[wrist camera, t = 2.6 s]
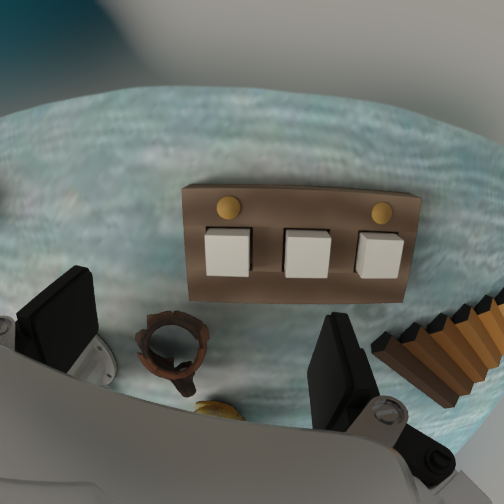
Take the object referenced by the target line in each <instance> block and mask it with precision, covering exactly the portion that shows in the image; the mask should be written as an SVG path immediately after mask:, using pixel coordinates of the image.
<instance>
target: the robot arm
mask: <svg viewBox="0 0 504 504" xmlns="http://www.w3.org/2000/svg"><path fill="white" fill-rule="evenodd" d="M16 315H17V319H18V320H17V321H16V322H15V321H14V320H13V318H11V317H9V316H0V504H492V502H491V500H490V499H489V497H488V496H487V495H486V494H485V493H484V492H483V491H482V490H481V489H480V488H479V487H478V486H477V485H476V484H475V483H474V482H473V481H472V480H471V479H470V478H469V477H468V476H466V474H465V473H464V472H463V471H462V470H460V471H459V472H457V471H456V470H455V466H456V462H455V457H454V455H453V453H452V452H451V451H450V450H449V449H448V448H446V447H445V446H443V445H442V444H440V443H438V442H436V441H435V440H433V439H431V438H430V437H428V436H426V435H425V434H423V433H422V432H420V431H418V430H417V429H415V428H413V427H412V426H410V425H409V424H407V421H408V417H409V416H408V411H407V409H406V407H405V406H404V405H403V403H402V402H400V401H399V400H397V399H396V398H393V397H391V396H385V395H384V396H380V393H379V390H378V387H377V384H376V381H375V379H374V376H373V373H372V370H371V367H370V364H369V362H368V359H367V356H366V353H365V351H364V349H362V348H360V347H359V344H358V341H357V338H356V335H355V333H354V330H353V327H352V325H351V322H350V319H349V316H348V314H347V313H339V312H332V313H331V315H326V317H325V320H324V323H323V326H322V329H321V332H320V335H319V338H318V341H317V344H316V347H315V350H314V352H313V355H312V358H311V361H310V364H309V367H308V371H307V377H308V386H309V396H310V405H311V415H312V426H313V429H309V428H298V427H288V426H278V425H269V424H262V423H254V422H247V421H240V420H234V419H227V418H222V417H216V416H211V415H205V414H200V413H196V412H191V411H186V410H182V409H178V408H173V407H169V406H165V405H161V404H157V403H154V402H150V401H146V400H143V399H139V398H136V397H132V396H129V395H126V394H122V393H119V392H116V391H113V390H110V389H107V388H104V387H101V386H105V385H108V384H109V383H111V382H112V380H113V379H114V377H115V375H116V371H117V367H116V361H115V358H114V356H113V354H112V352H111V350H110V349H109V348H108V346H107V345H106V343H105V342H104V341H103V340H102V339H101V338H100V337H99V336H98V335H97V332H98V328H99V325H98V318H97V311H96V304H95V295H94V286H93V276H92V273H91V272H90V271H89V269H88V268H86V267H82V266H78V265H75V266H73V267H72V268H71V269H69V270H68V271H67V272H66V273H64V274H63V275H62V276H60V277H59V278H58V279H57V280H55V281H54V282H53V283H52V284H50V285H49V286H48V287H47V288H46V289H44V290H43V291H42V292H41V293H40V294H38V295H37V296H36V297H35V298H34V299H32V300H31V301H30V302H29V303H28V304H26V305H25V306H24V307H23V308H22V309H21V310H20V311H18V312H17V313H16Z"/></svg>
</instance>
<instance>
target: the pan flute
mask: <svg viewBox="0 0 504 504" xmlns="http://www.w3.org/2000/svg"><path fill="white" fill-rule="evenodd" d="M495 301H496V302H495ZM496 303H497V304H496ZM475 310H476V312H475V311H474V309H473V308H472V306H469V305H466V304H464V305H463V306H462V307H461V308H460V309H459V310H458V311H457V312H456V313H455V314H454V315H453V316H452V317H453V321H454V323H453V322H452V321H451V319H450V318H449V317H448V316H446V315H444V314H442V313H440V314H439V315H438V316H437V317H436V318H435V319H434V320H433V321H432V322H431V323H430V324H429V325H428V330H429V333H428V332H427V331H426V330H425V329H424V328H423V327H422V326H421V325H419V324H417V323H415V322H414V323H413V324H412V325H411V326H410V327H408V328H407V329H406V330H405V331H404V332H403V333H402V334H401V335H400V336H401V343H400V342H399V341H398V340H396V339H395V338H394V337H393V336H392V335H390V334H389V333H387V332H386V331H385V332H384V333H383V334H382V335H381V336H380V337H379V338H377V339H376V340H375V341H374V342H373V343H372V344H371V353H372V354H373V355H375V356H376V357H377V358H378V359H380V360H381V361H382V362H384V363H385V364H386V365H388V366H389V367H390V368H392V369H393V370H394V371H396V372H397V373H398V374H399V375H401V376H402V377H403V378H405V379H406V380H407V381H409V382H410V383H411V384H413V385H414V386H415V387H417V388H418V389H419V390H421V391H422V392H423V393H425V394H426V395H427V396H429V397H430V398H431V399H433V400H434V401H435V402H437V403H438V404H439V405H441V406H442V407H443V408H444V409H445V408H452V407H455V405H456V403H457V401H458V398H459V396H463V395H469V394H470V392H471V390H472V387H473V385H474V383H477V382H481V381H484V380H485V377H486V375H487V372H488V369H492V368H496V367H499V364H500V360H501V357H502V355H504V288H503V289H502V290H501V291H500V293H499V294H498V295H497V296H496V297H495V300H494V298H493V297H490V296H487V295H485V296H484V297H483V298H482V300H481V301H480V302H479V303H478V304H477V305H476V306H475ZM476 313H477V314H476Z"/></svg>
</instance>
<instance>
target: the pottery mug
mask: <svg viewBox="0 0 504 504" xmlns="http://www.w3.org/2000/svg"><path fill="white" fill-rule="evenodd" d="M165 325H177V326H180V327H183V328H185V329H187V330H188V331H189V332H190V333H191V334H192V335H193V336H194V337H195V339H196V340H199V347H198V352H197V357H196V359H195V361H194V362H193V363H192V362H191V361H188V362H182V363H180V364H179V365H178V366H177V367H175V368H174V364H173V363H174V358H165V357H162V356H159V355H158V354H156V353H154V352H153V351H152V350H151V349H150V347H149V345H148V343H149V339H150V337H151V335H152V334H153V332H154V331H155V330H157V329H158V328H160V327H162V326H165ZM209 339H210V336H209V332H208V330H207V327H206V326H205V324H203V323H202V321H200V320H199V319H197V318H195V317H193V316H191V315H189V314H187V313H184V312H181V311H174V313H172V312H171V311H165V312H162V313H159V314H153V315H152V314H150V315H147V329H142V330H140V331H139V332H138V333H136V336H135V340H136V342H137V344H138V346H139V348H140V349H141V350H142V354H141V353H139V352H138V353H137V354H138V357H139V359H140V361H141V362H142V364H143V365H144V366H145V367H146V368H147V369H148V370H149V371H150V372H151V373H153V374H155V375H157V376H158V377H163V378H165V379H168V380H170V381H171V382H172V383H173V384H174V386H175V387H176V389H177V390H178V391H179V392H180V393H181V395H182V396H183V397H187V398H188V397H190V396H193V395H194V394H195V393H196V388H195V385H194V383H193V376H194V374H195V371H196V370H197V369H198V368H199V367H200V365H201V364H202V362H203V359H204V357H205V354H206V349H207V343H206V342H207V341H208V340H209Z"/></svg>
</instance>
